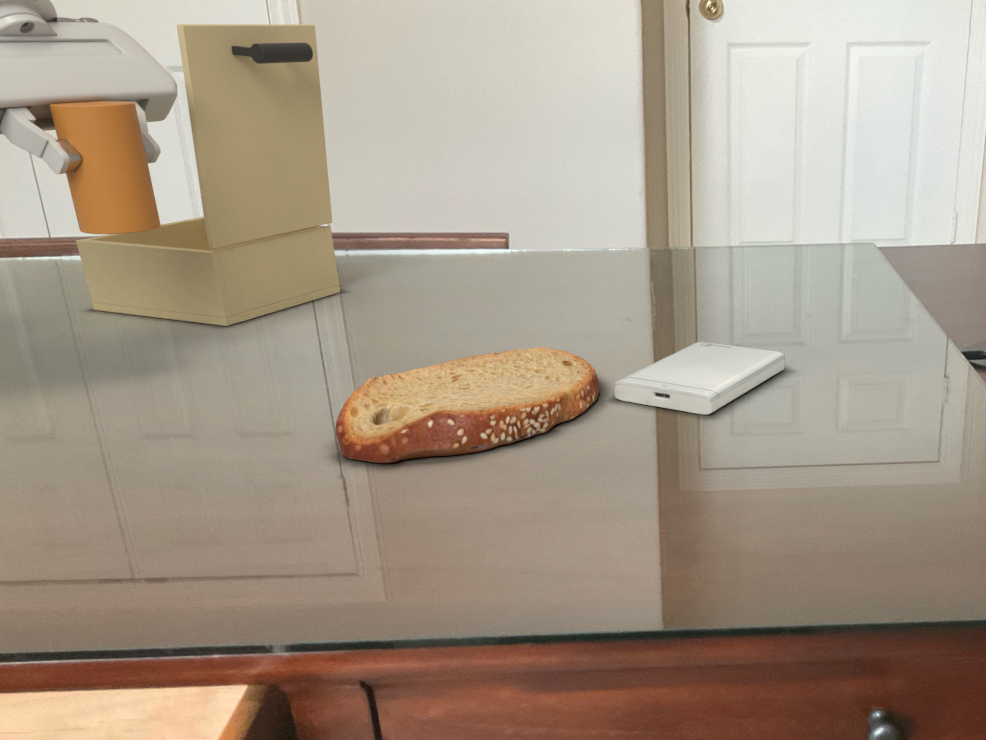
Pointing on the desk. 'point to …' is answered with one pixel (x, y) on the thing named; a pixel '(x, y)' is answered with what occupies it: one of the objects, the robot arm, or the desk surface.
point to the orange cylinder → (108, 167)
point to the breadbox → (207, 273)
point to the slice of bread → (464, 405)
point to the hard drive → (700, 377)
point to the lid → (256, 128)
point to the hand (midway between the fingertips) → (111, 162)
